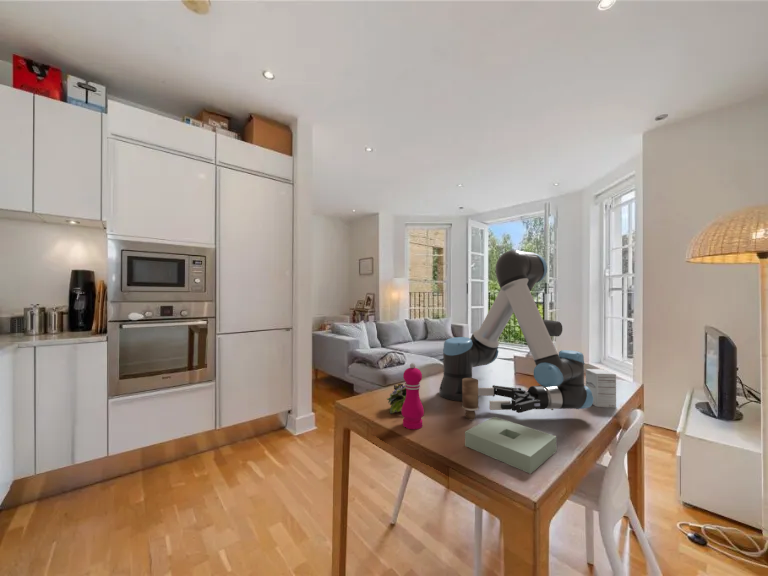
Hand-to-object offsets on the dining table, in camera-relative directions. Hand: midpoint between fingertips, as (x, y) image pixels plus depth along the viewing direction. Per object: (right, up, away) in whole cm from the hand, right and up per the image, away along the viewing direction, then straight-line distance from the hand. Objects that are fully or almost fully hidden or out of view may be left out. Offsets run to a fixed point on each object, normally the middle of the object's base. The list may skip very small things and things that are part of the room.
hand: (482, 398), depth 106 cm
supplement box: (+50, -8, +15) cm, 53 cm away
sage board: (+1, -7, -20) cm, 21 cm away
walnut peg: (-4, -7, +1) cm, 8 cm away
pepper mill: (-24, -7, -5) cm, 26 cm away
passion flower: (-26, -7, +8) cm, 28 cm away
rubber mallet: (+43, -8, +41) cm, 60 cm away
